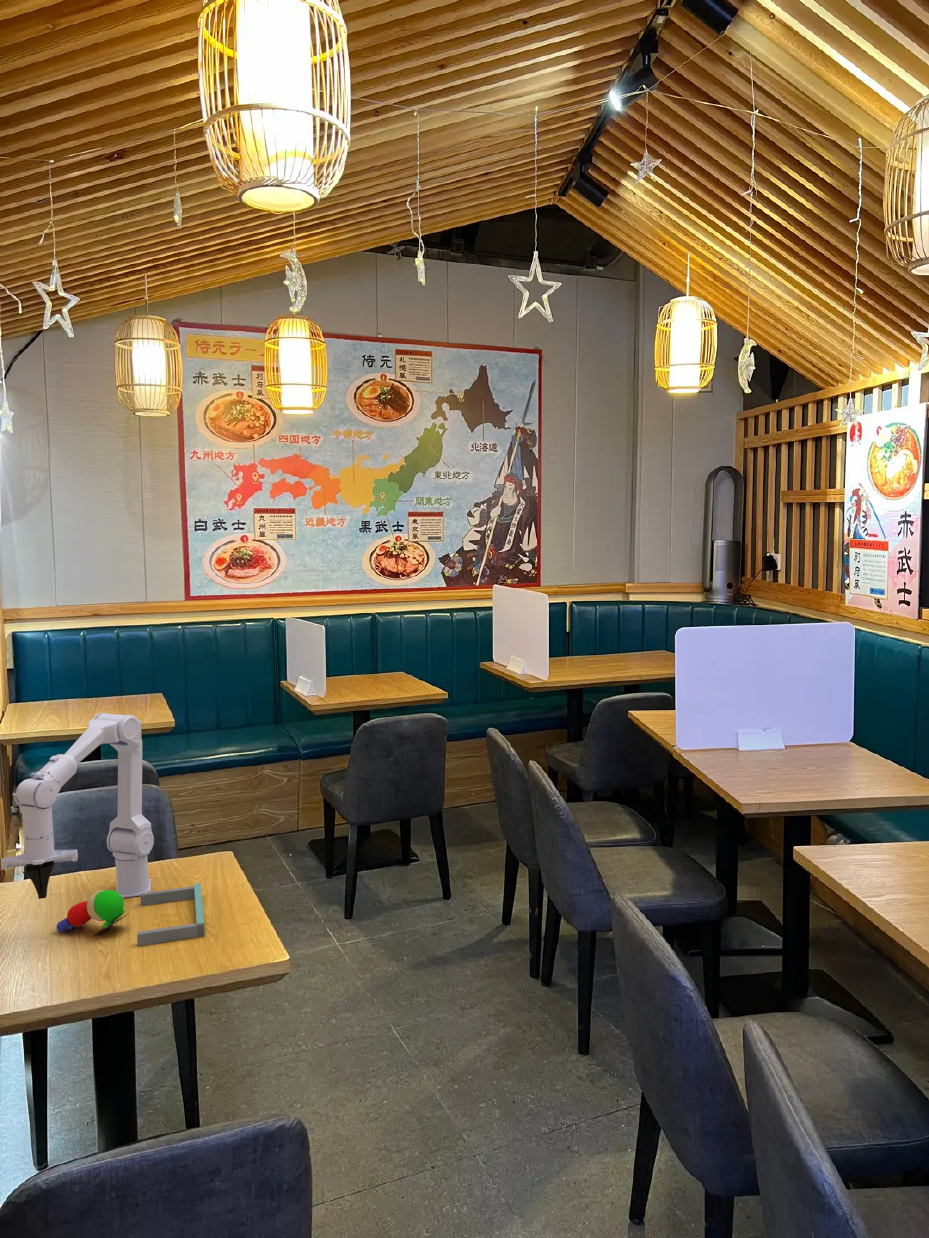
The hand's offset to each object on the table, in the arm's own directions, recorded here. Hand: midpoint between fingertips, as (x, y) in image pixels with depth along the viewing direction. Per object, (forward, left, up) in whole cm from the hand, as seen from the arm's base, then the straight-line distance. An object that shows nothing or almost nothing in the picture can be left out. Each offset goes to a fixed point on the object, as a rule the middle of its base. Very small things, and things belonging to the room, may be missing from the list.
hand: (42, 896), depth 193 cm
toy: (0, +10, -9) cm, 13 cm away
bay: (0, +25, -9) cm, 27 cm away
